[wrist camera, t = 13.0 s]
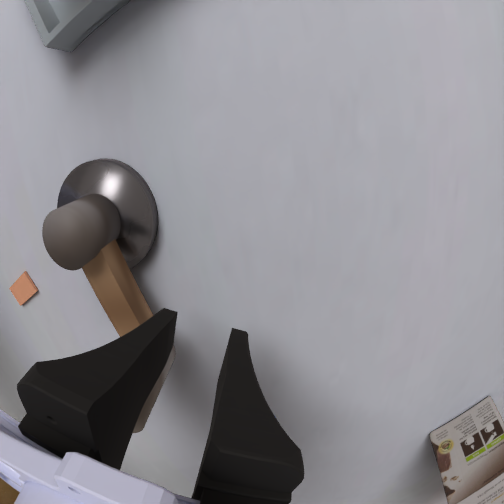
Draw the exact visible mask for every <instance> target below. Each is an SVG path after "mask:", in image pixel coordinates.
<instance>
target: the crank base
mask: <svg viewBox="0 0 504 504" xmlns="http://www.w3.org/2000/svg"><path fill="white" fill-rule="evenodd" d="M89 194H101V195H103V196H105V197H107V198H108V199H109V200H110V201H111V202H112V203H113V204H114V205H115V207H116V209H117V211H118V213H119V216H120V222H121V228H120V233H119V236H118V238H117V239H116V242H117V244H118V246H119V248H120V250H121V253H122V255H123V257H124V259H125V261H126V263H127V265H128V267H129V269H131V268H132V267H134V266H135V265H136V264H138V263H139V262H140V261H141V260H142V259H143V258H144V257H145V256H146V255H147V253H148V252H149V251H150V249H151V247H152V245H153V243H154V241H155V238H156V234H157V229H158V213H157V207H156V203H155V199H154V197H153V194H152V192H151V190H150V188H149V186H148V185H147V183H146V182H145V180H144V179H143V178H142V177H141V175H140V174H139V173H138V172H137V171H135V170H134V169H133V168H132V167H130V166H129V165H127V164H125V163H123V162H121V161H118V160H114V159H97V160H93V161H89V162H86V163H83V164H81V165H79V166H78V167H76V168H75V169H74V170H73V171H72V172H71V173H70V174H69V175H68V176H67V178H66V179H65V181H64V183H63V185H62V187H61V190H60V193H59V197H58V205H57V208H59V207H62V206H64V205H66V204H68V203H71V202H73V201H75V200H77V199H80V198H82V197H84V196H87V195H89Z"/></svg>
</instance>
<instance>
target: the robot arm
mask: <svg viewBox="0 0 504 504" xmlns="http://www.w3.org/2000/svg"><path fill="white" fill-rule="evenodd" d="M176 319H177V312H175V311H172V310H169V309H165V308H164V309H162V310H160V311H159V312H158V313H156V314H155V315H154V316H152V317H151V318H149V319H148V320H147V321H145V322H144V323H142V324H141V325H139V326H138V327H136V328H135V329H133V330H132V331H130V332H128V333H127V334H125V335H123V336H121V337H120V338H118V339H116V340H114V341H112V342H110V343H108V344H106V345H104V346H102V347H99V348H97V349H94V350H91V351H88V352H85V353H82V354H79V355H75V356H72V357H67V358H63V359H57V360H50V361H43V362H36V363H35V364H34V365H33V366H32V367H31V368H30V370H29V371H28V372H27V373H26V374H25V376H24V377H23V378H22V379H21V380H20V382H19V383H18V384H17V390H18V394H19V397H20V399H21V401H22V403H23V406H24V408H25V410H26V412H27V414H26V415H25V417H24V418H23V420H22V421H21V422H18V421H17V420H15V419H14V418H12V417H11V416H9V415H8V414H7V413H5V412H4V411H2V410H1V409H0V478H1V479H3V480H4V481H5V482H6V483H8V484H9V485H10V486H12V487H13V488H14V489H16V490H17V491H19V492H20V493H19V495H18V497H17V499H16V501H15V502H14V504H288V503H290V502H291V493H292V491H293V490H294V489H295V488H296V487H297V486H298V485H299V484H300V483H301V482H302V480H303V479H304V465H303V459H302V454H301V450H300V449H299V448H298V447H297V446H296V444H295V443H294V442H293V441H292V440H291V439H290V438H289V436H288V435H287V434H286V432H285V431H284V430H283V428H282V427H281V426H280V424H279V422H278V421H277V419H276V418H275V416H274V414H273V413H272V411H271V410H270V408H269V406H268V404H267V402H266V400H265V398H264V396H263V393H262V391H261V389H260V386H259V384H258V381H257V378H256V375H255V372H254V368H253V364H252V360H251V356H250V351H249V344H248V334H247V332H245V331H242V330H238V329H234V328H232V331H231V334H230V338H229V342H228V345H227V349H226V353H225V357H224V360H223V364H222V368H221V371H220V375H219V379H218V384H217V390H216V396H215V403H214V409H213V416H212V422H211V427H210V432H209V435H208V439H207V443H206V447H205V451H204V454H203V458H202V462H201V466H200V469H199V473H198V477H197V481H196V484H195V488H194V492H193V495H192V498H188V497H184V496H181V495H177V494H174V493H172V492H170V491H168V490H167V489H165V488H164V487H161V486H159V485H157V484H154V483H152V482H149V481H147V480H144V479H141V478H138V477H135V476H133V475H130V474H128V473H125V472H123V471H120V468H121V465H122V461H123V458H124V455H125V452H126V450H127V447H128V444H129V441H130V438H131V436H132V433H133V430H134V428H135V425H136V422H137V420H138V417H139V415H140V412H141V410H142V408H143V406H144V404H145V402H146V400H147V398H148V396H149V394H150V392H151V391H152V389H153V387H154V385H155V383H156V382H157V380H158V378H159V376H160V374H161V373H162V371H163V369H164V367H165V365H166V363H167V360H168V358H169V355H170V353H171V350H172V348H173V342H174V334H175V326H176Z"/></svg>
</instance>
